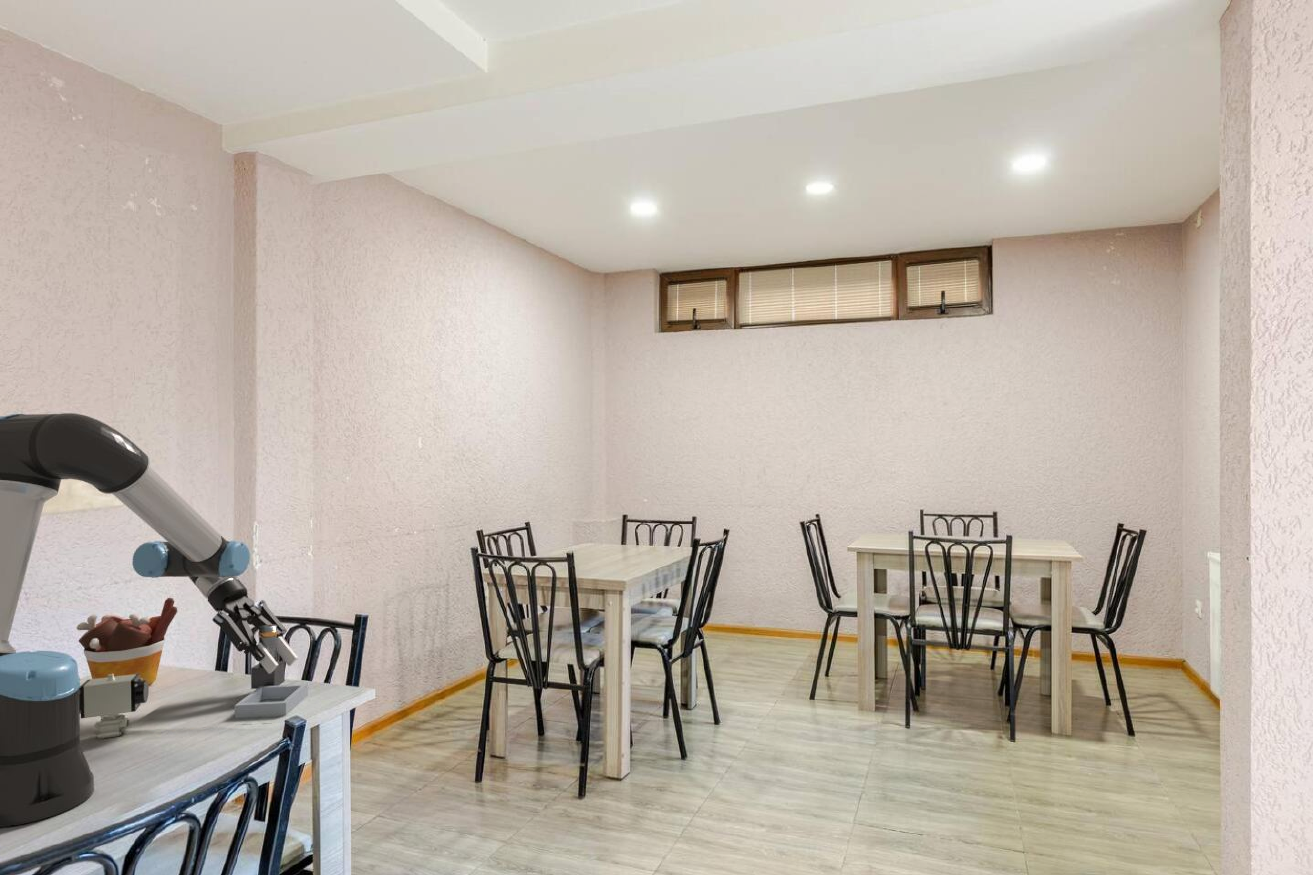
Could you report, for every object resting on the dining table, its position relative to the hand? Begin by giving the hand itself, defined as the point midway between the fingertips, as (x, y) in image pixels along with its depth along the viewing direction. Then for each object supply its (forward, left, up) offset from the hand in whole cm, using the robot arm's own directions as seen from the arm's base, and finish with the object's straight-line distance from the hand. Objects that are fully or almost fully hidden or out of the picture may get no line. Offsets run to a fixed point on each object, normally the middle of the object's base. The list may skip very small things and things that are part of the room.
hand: (283, 665), depth 169 cm
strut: (+1, +4, -4) cm, 6 cm away
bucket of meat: (+16, +41, -8) cm, 45 cm away
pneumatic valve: (-16, +26, -8) cm, 32 cm away
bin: (-9, -1, -8) cm, 12 cm away
